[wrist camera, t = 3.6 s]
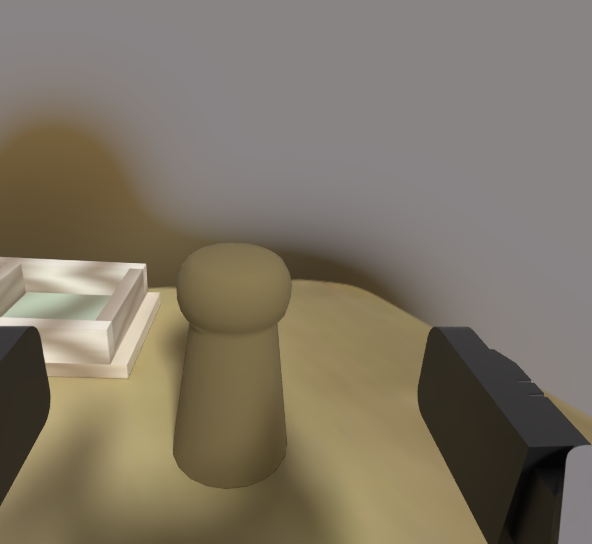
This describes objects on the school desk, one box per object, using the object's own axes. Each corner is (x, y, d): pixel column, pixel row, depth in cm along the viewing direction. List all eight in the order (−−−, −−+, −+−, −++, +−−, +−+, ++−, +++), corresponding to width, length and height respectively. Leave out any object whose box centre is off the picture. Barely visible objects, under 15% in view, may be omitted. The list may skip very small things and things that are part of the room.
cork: (166, 415, 27) (158, 232, 23) (267, 397, 29) (278, 227, 25) (181, 501, 22) (174, 287, 17) (303, 472, 24) (325, 274, 20)
